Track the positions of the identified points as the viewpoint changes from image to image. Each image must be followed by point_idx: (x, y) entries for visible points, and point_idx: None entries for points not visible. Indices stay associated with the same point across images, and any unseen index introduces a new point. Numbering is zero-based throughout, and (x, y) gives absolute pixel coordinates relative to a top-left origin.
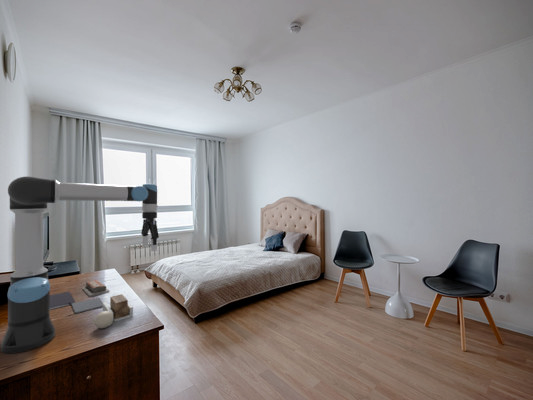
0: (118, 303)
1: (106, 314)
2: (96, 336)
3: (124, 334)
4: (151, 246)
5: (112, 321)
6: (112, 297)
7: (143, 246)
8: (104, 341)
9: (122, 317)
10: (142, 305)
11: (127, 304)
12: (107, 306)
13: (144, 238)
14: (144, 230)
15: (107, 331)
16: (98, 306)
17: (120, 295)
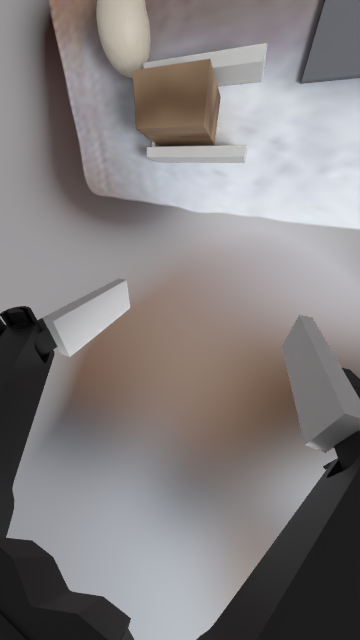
0: (135, 87)
1: (99, 24)
2: None
3: (81, 106)
4: (101, 290)
5: None
6: (195, 68)
7: (300, 323)
8: (68, 39)
9: None
10: (198, 210)
11: (143, 133)
12: None
13: (319, 392)
14: (319, 569)
15: None
16: (315, 45)
17: (194, 114)
